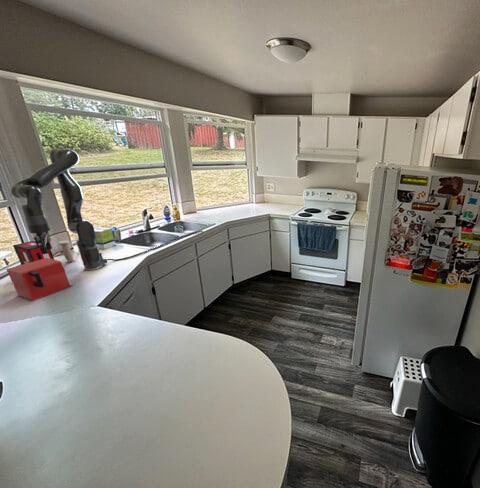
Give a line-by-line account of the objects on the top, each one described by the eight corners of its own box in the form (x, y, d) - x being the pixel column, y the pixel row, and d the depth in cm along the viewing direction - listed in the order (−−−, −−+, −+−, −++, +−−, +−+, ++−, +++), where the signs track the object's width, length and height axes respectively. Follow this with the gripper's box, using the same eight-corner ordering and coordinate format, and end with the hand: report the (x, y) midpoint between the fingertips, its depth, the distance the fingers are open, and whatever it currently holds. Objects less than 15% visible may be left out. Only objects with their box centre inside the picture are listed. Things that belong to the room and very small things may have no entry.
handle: (65, 264, 172) (57, 243, 167) (66, 261, 177) (59, 241, 171) (75, 262, 175) (67, 242, 170) (76, 259, 180) (69, 239, 174)
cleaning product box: (59, 273, 159) (48, 244, 152) (40, 279, 151) (28, 249, 144) (44, 269, 164) (33, 240, 157) (25, 275, 156) (12, 245, 149)
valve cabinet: (69, 286, 146) (59, 261, 140) (31, 300, 131) (19, 273, 126) (56, 282, 149) (46, 257, 144) (18, 295, 135) (6, 269, 129)
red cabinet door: (76, 287, 143) (67, 263, 138) (39, 302, 129) (27, 275, 124) (69, 285, 145) (60, 261, 140) (31, 300, 131) (19, 273, 126)
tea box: (88, 247, 201) (82, 230, 196) (101, 243, 210) (95, 226, 205) (104, 249, 199) (99, 231, 194) (116, 244, 208) (111, 227, 203)
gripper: (43, 225, 129) (53, 254, 135) (50, 219, 140) (59, 246, 146) (22, 227, 125) (33, 257, 130) (31, 221, 136) (41, 248, 141)
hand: (47, 251), depth 138 cm, fingers open, 8 cm apart
